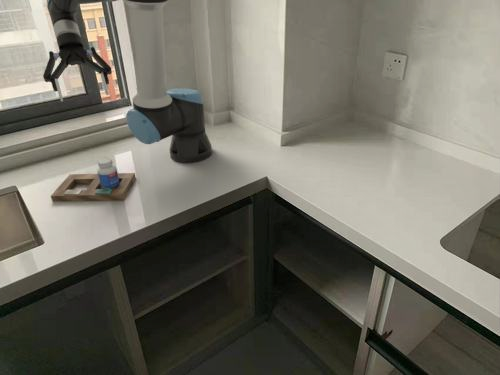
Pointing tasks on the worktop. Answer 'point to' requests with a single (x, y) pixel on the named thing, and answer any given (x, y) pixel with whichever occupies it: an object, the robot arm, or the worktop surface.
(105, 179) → the pill bottle
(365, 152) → the worktop surface
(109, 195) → the socket plate
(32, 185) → the worktop surface
